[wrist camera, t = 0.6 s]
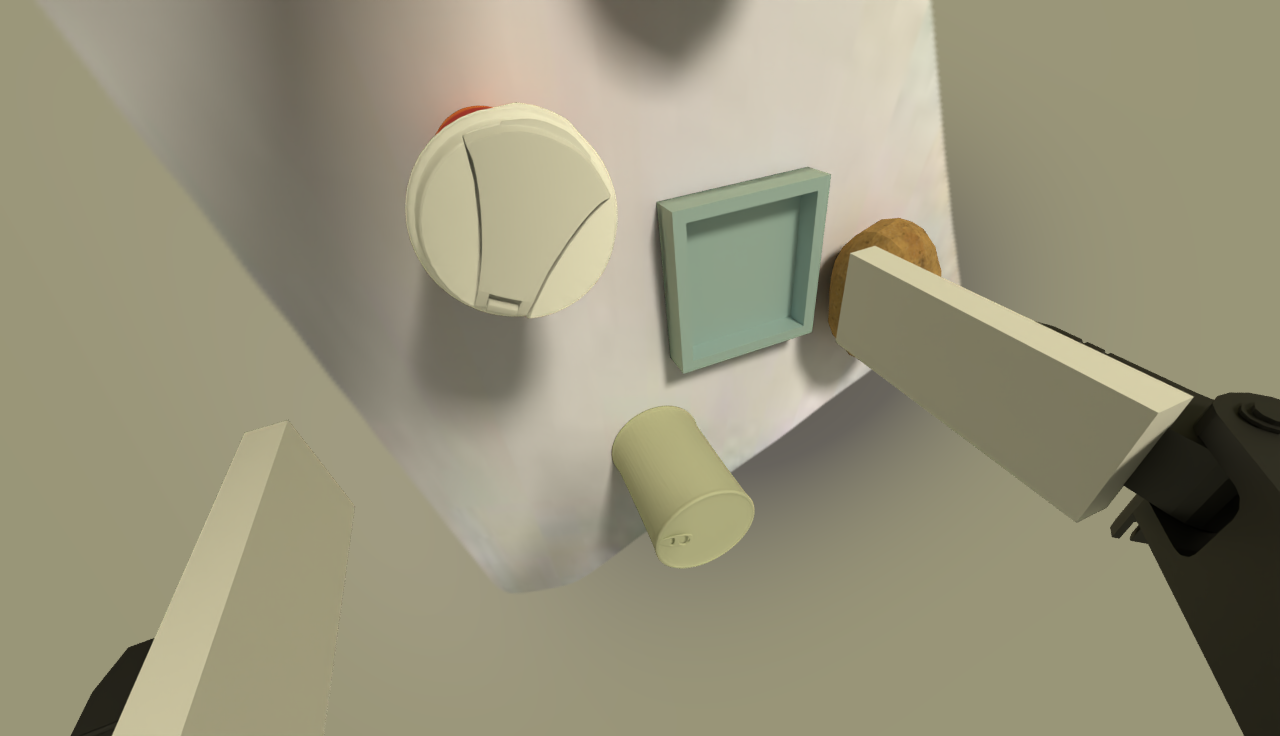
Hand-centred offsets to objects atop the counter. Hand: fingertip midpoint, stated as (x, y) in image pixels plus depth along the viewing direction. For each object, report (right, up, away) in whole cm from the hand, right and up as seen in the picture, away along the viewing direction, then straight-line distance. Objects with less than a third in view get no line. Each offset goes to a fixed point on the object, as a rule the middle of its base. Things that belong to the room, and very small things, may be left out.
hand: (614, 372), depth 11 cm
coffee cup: (-9, +13, +18) cm, 24 cm away
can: (+2, -7, +37) cm, 38 cm away
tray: (+9, +9, +29) cm, 32 cm away
